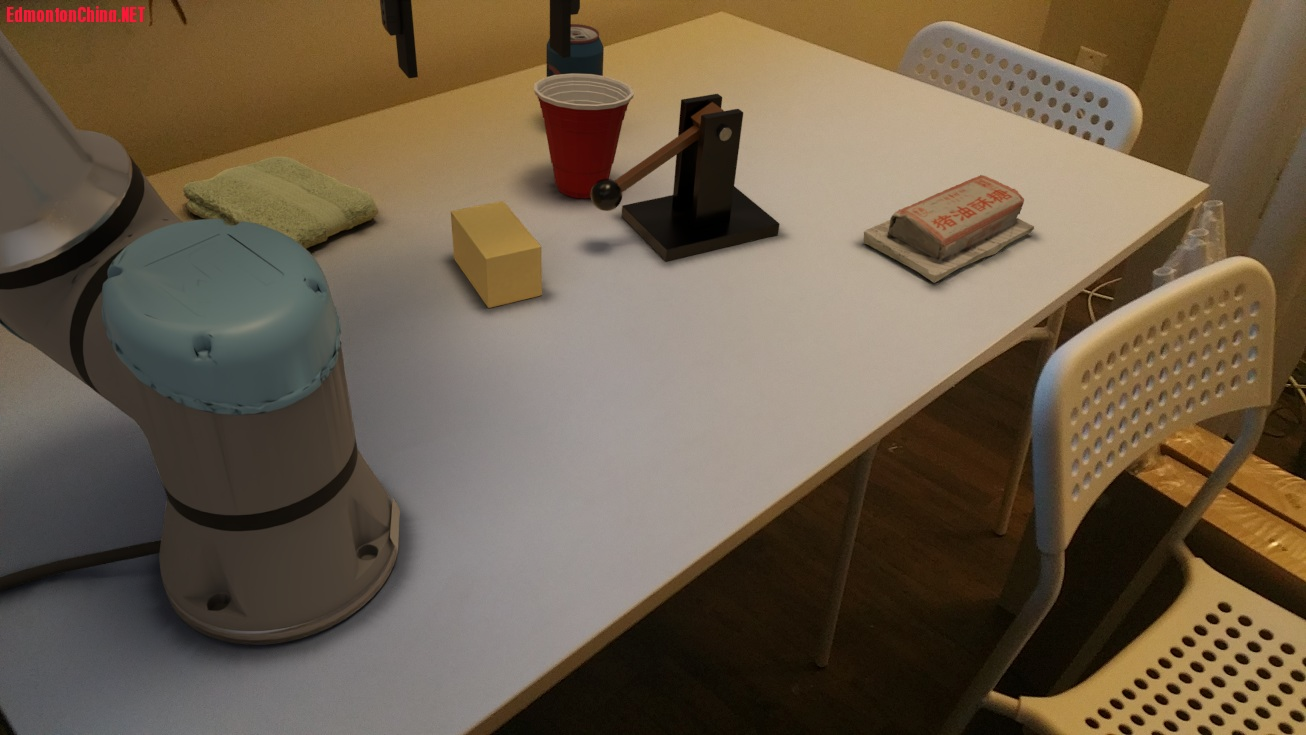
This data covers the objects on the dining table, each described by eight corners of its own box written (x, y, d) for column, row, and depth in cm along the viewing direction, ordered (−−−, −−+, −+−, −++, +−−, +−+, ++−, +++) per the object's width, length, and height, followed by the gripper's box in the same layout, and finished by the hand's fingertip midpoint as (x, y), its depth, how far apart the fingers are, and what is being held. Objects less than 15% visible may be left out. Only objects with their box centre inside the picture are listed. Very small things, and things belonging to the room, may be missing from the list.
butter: (488, 308, 93) (485, 258, 89) (453, 259, 99) (450, 210, 96) (542, 295, 95) (541, 246, 92) (504, 247, 101) (503, 200, 98)
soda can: (538, 118, 126) (537, 25, 119) (587, 111, 129) (589, 19, 122) (560, 141, 122) (560, 45, 114) (610, 132, 124) (614, 38, 117)
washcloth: (280, 167, 112) (275, 140, 110) (387, 219, 104) (384, 192, 102) (176, 208, 103) (168, 181, 101) (284, 269, 96) (278, 240, 94)
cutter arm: (606, 222, 99) (594, 199, 97) (592, 207, 101) (580, 185, 99) (734, 133, 100) (725, 108, 98) (717, 120, 102) (708, 96, 100)
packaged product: (969, 162, 113) (1045, 197, 107) (959, 199, 116) (1032, 235, 110) (868, 204, 103) (945, 245, 98) (859, 244, 106) (934, 286, 101)
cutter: (665, 261, 101) (676, 136, 93) (621, 216, 108) (627, 96, 99) (778, 234, 107) (797, 115, 98) (729, 193, 114) (743, 78, 105)
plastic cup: (634, 169, 117) (639, 71, 110) (623, 213, 108) (628, 110, 101) (543, 160, 117) (543, 61, 110) (525, 203, 109) (523, 100, 101)
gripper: (309, -219, 63) (351, 98, 76) (652, -221, 73) (637, 59, 86) (283, -237, 68) (326, 64, 81) (607, -237, 78) (599, 30, 91)
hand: (486, 62), depth 84 cm, fingers open, 13 cm apart
